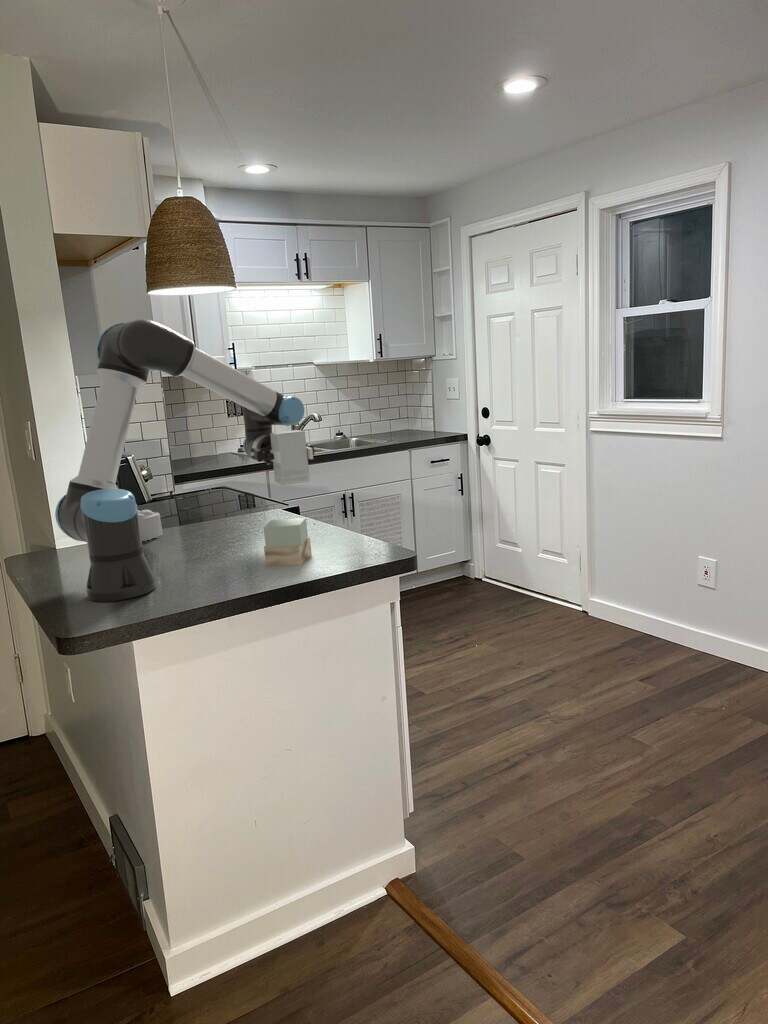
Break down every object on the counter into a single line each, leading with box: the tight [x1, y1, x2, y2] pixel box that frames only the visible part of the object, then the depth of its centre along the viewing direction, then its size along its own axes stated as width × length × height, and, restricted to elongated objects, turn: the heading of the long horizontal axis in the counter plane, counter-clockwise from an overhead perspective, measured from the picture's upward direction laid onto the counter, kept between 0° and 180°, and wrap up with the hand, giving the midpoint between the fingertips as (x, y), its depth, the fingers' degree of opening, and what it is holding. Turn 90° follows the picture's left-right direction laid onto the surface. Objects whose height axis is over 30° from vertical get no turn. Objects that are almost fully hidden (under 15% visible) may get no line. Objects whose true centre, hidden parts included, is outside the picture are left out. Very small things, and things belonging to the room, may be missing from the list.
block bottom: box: [263, 536, 312, 566], centre depth 192 cm, size 9×9×5 cm
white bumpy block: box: [138, 509, 164, 542], centre depth 233 cm, size 10×13×9 cm
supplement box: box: [270, 429, 311, 486], centre depth 189 cm, size 7×7×13 cm
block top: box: [263, 517, 309, 547], centre depth 191 cm, size 9×9×5 cm
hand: (295, 455), depth 184 cm, fingers closed on supplement box, 7 cm apart
